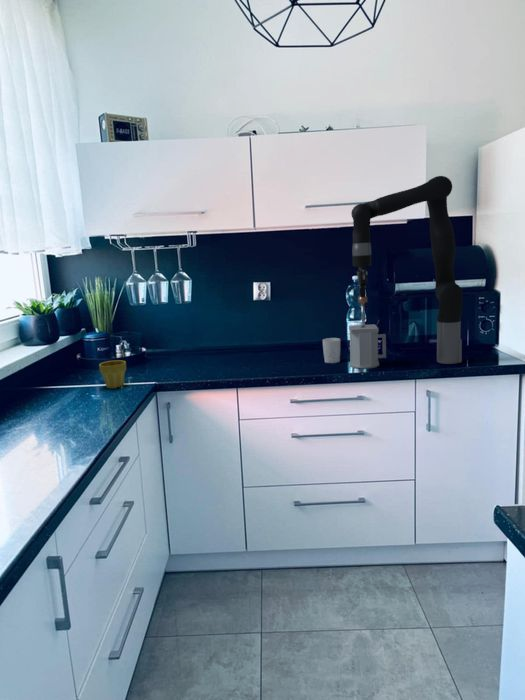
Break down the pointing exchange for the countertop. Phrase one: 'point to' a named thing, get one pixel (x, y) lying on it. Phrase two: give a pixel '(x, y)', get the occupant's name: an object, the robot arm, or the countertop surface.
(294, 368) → the countertop surface
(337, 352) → the white cup
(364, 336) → the press
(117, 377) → the plant pot
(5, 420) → the countertop surface
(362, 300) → the plunger
